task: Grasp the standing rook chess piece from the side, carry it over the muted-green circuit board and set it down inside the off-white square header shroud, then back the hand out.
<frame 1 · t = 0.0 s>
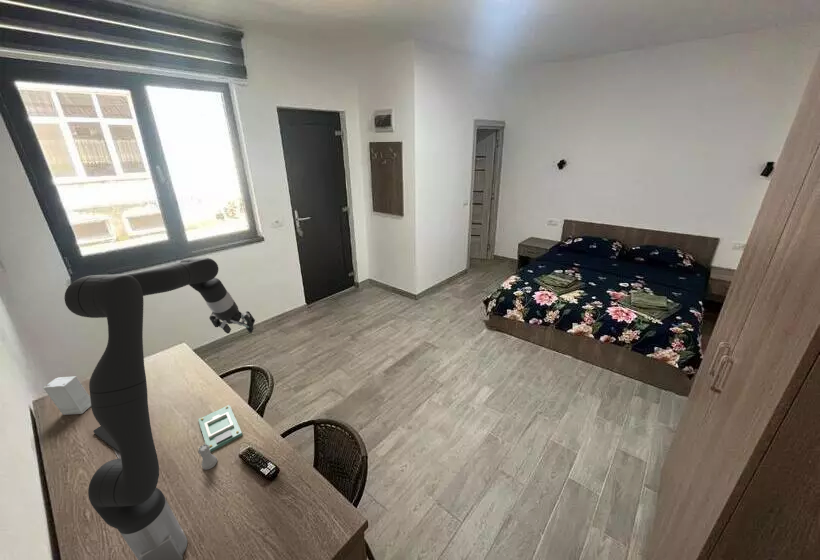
hand: (240, 331, 123), 31 cm above the table, tool tilted 20°, fingers open, 8 cm apart
smart home device: (120, 436, 119), on the table, touching smartphone
rook chess piece: (210, 464, 107), on the table
smartphone: (132, 451, 113), on the table, touching smart home device
skincare box: (78, 409, 131), on the table
header board: (220, 428, 120), on the table
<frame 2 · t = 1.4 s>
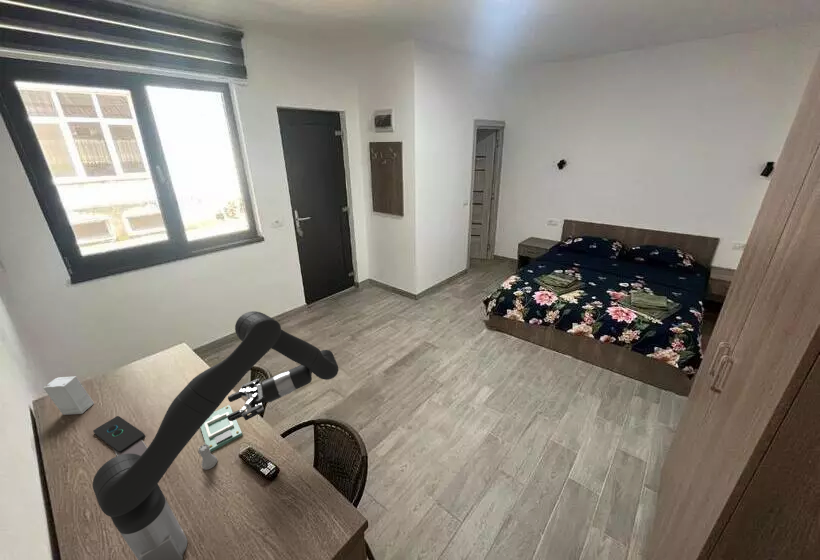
hand: (228, 408, 103), 19 cm above the table, tool horizontal, fingers open, 8 cm apart
nothing on the table moved.
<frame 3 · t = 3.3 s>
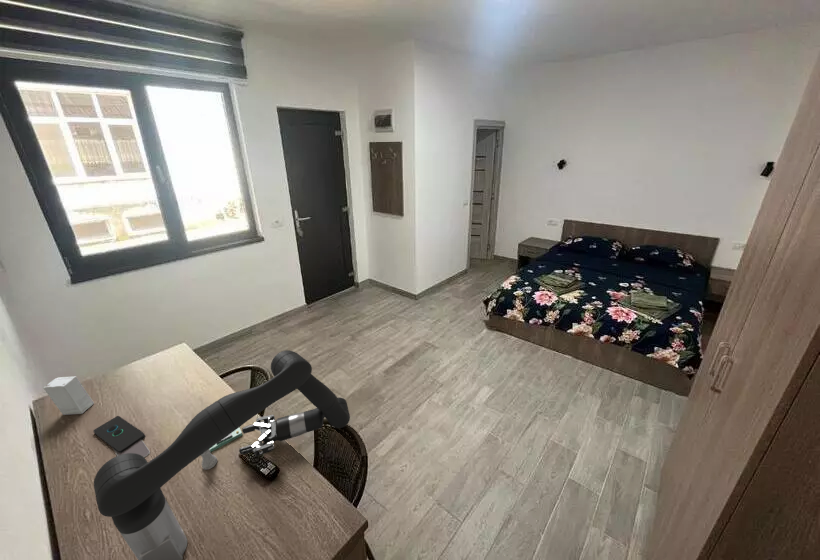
hand: (241, 440, 107), 6 cm above the table, tool horizontal, fingers open, 8 cm apart
nothing on the table moved.
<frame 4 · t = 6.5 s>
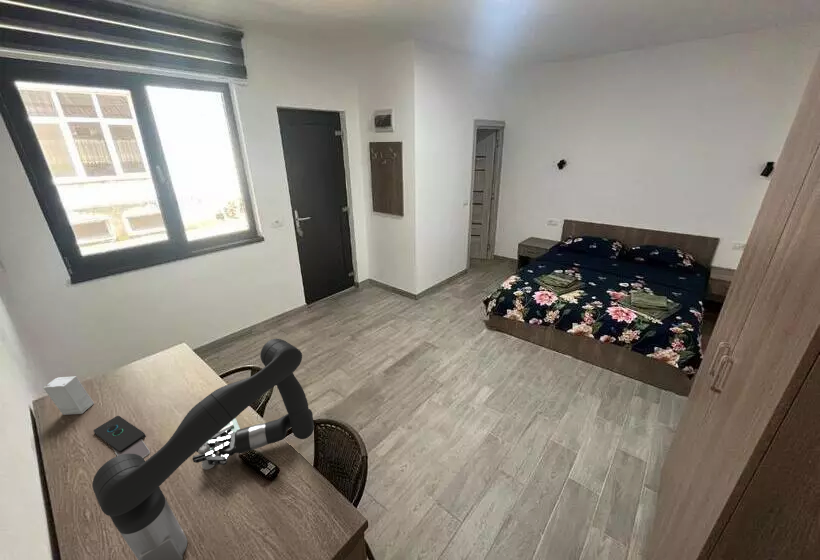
hand: (194, 454, 103), 6 cm above the table, tool horizontal, fingers closed on rook chess piece, 3 cm apart
rook chess piece: (210, 464, 107), on the table, touching gripper
everything else where it was.
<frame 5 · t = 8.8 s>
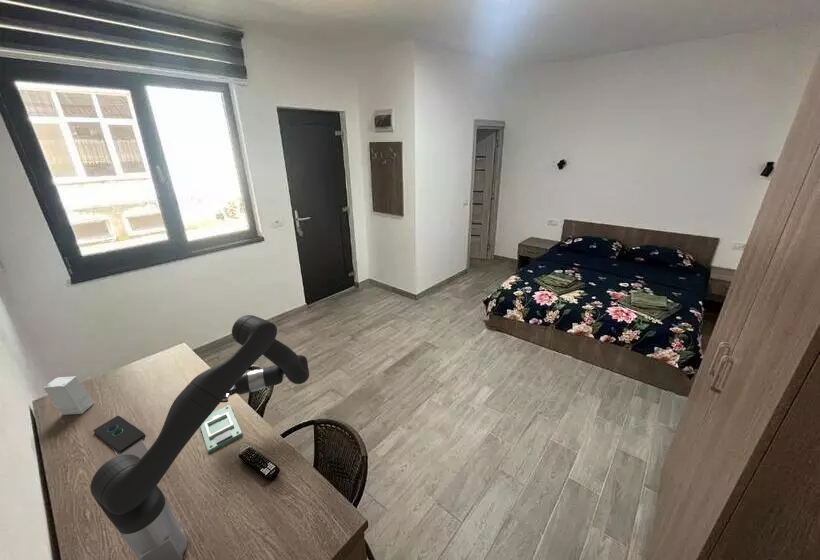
hand: (198, 394, 112), 18 cm above the table, tool horizontal, fingers closed on rook chess piece, 3 cm apart
rook chess piece: (212, 405, 115), point 12 cm above the table, touching gripper
everything else where it was.
when the fingers open (9 cm above the table, at t = 11.3 s): rook chess piece drops 1 cm, resting on header board.
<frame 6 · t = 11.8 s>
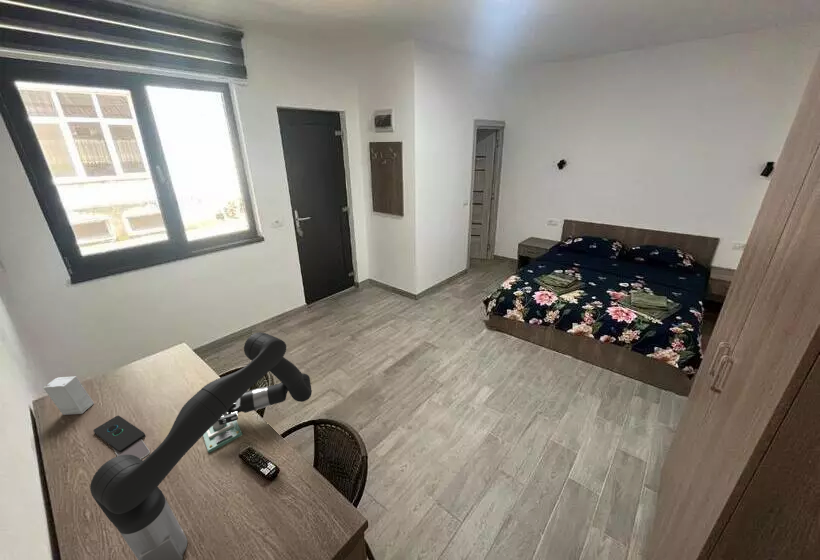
hand: (207, 411, 116), 9 cm above the table, tool horizontal, fingers open, 8 cm apart
rook chess piece: (219, 426, 120), point 1 cm above the table, touching header board
everything else where it was.
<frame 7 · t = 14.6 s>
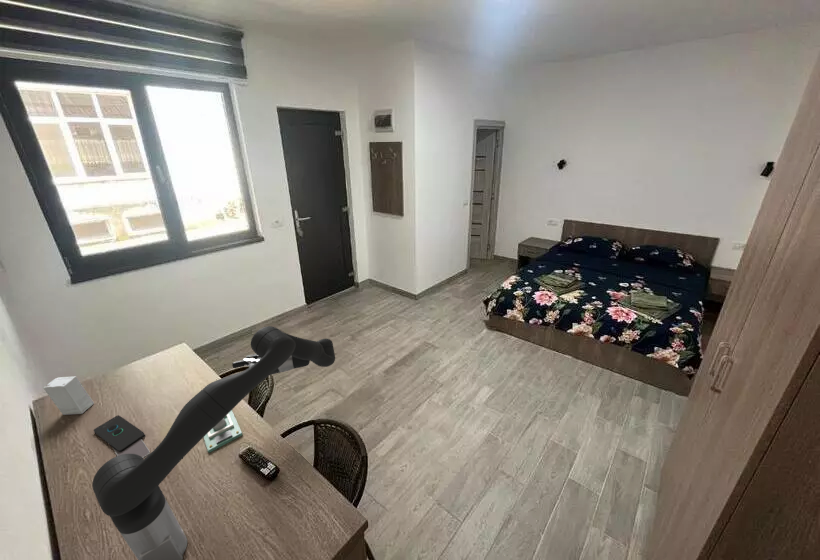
hand: (231, 372, 114), 23 cm above the table, tool horizontal, fingers open, 8 cm apart
nothing on the table moved.
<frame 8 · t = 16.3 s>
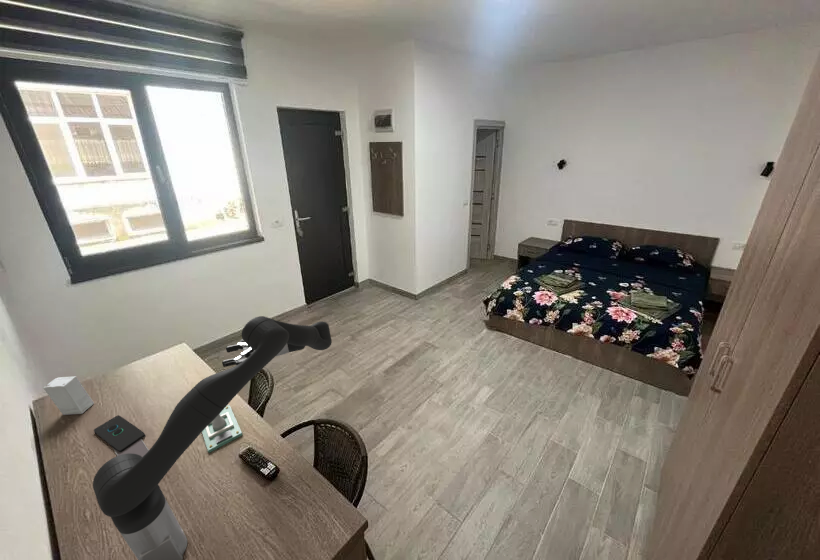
hand: (224, 356, 111), 30 cm above the table, tool horizontal, fingers open, 8 cm apart
nothing on the table moved.
at the end: rook chess piece 0.1 cm off-centre on the header board, point 1.0 cm above the header board's base; rook chess piece tilted 0°; the gripper is holding nothing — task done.
